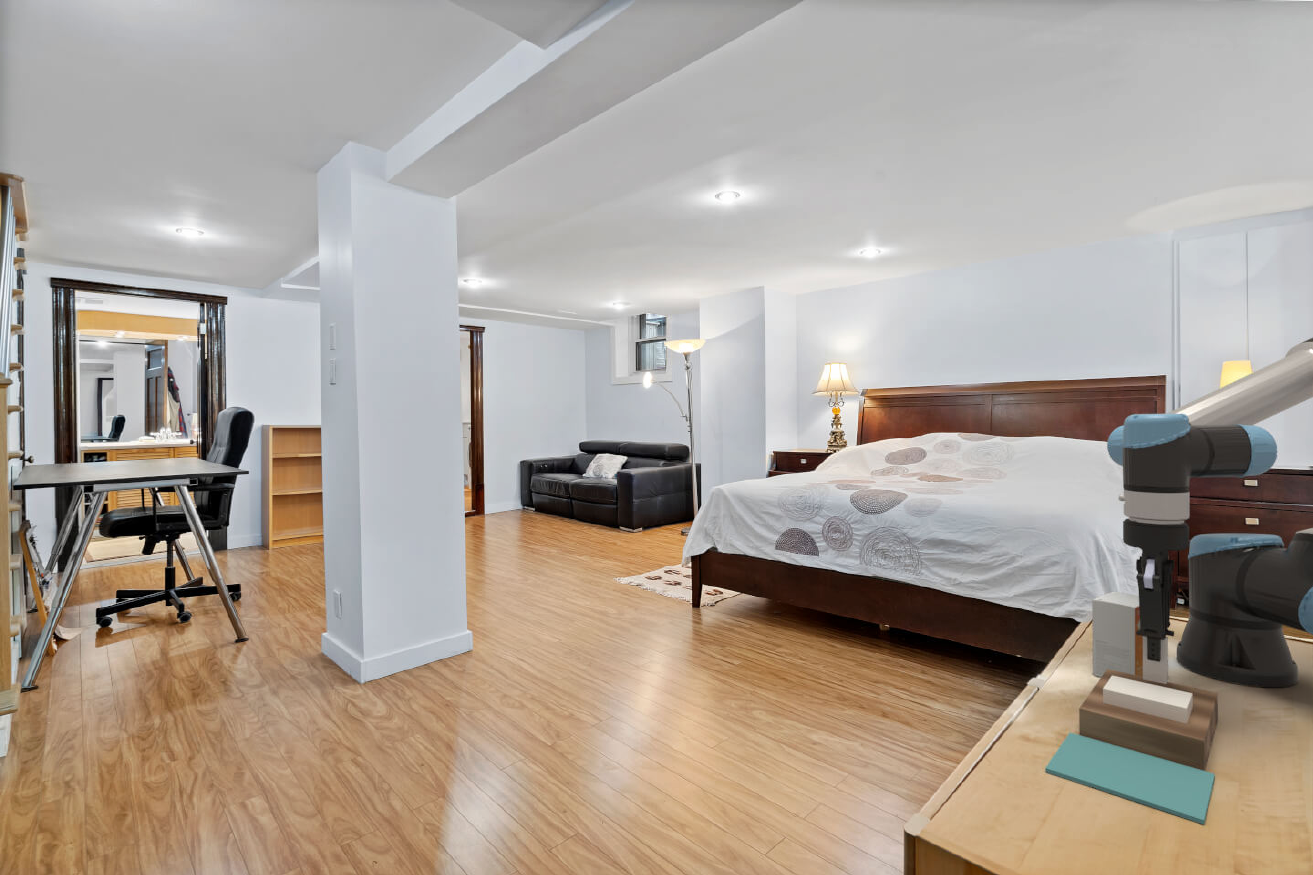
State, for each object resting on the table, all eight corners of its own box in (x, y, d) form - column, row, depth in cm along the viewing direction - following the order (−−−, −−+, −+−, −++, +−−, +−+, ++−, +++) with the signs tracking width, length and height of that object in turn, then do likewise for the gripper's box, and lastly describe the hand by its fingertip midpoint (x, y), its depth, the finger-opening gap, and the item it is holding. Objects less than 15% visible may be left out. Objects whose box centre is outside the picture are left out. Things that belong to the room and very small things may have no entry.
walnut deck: (1107, 693, 99) (1107, 668, 99) (1217, 720, 90) (1217, 692, 90) (1079, 736, 87) (1079, 708, 87) (1204, 772, 77) (1204, 740, 77)
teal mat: (1069, 735, 87) (1069, 732, 87) (1214, 777, 76) (1214, 773, 76) (1045, 771, 79) (1045, 767, 79) (1204, 824, 68) (1204, 820, 68)
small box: (1136, 688, 101) (1135, 607, 101) (1091, 675, 106) (1090, 598, 106) (1156, 675, 106) (1155, 598, 105) (1112, 663, 111) (1111, 590, 110)
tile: (1112, 688, 92) (1111, 675, 92) (1192, 707, 86) (1192, 693, 86) (1103, 702, 88) (1102, 688, 88) (1187, 723, 82) (1186, 708, 81)
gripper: (1131, 511, 99) (1132, 660, 100) (1114, 523, 90) (1114, 686, 91) (1194, 516, 94) (1194, 673, 94) (1182, 528, 84) (1182, 702, 85)
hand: (1155, 679), depth 92 cm, fingers closed
